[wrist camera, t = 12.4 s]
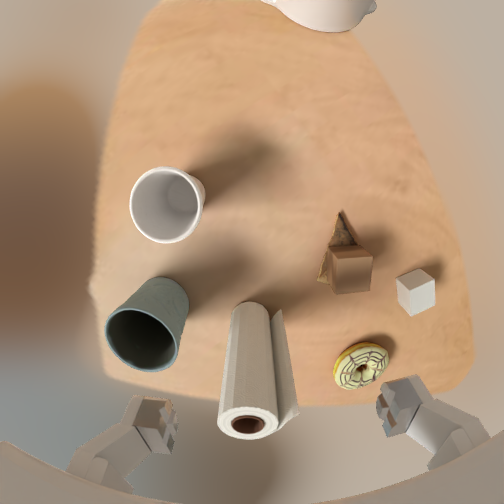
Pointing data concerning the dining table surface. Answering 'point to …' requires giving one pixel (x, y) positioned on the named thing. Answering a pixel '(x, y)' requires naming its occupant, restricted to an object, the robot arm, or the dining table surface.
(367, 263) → the walnut cube
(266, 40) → the dining table surface
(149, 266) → the dining table surface
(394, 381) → the robot arm
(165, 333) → the teal plant pot
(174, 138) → the dining table surface
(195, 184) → the dixie cup
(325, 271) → the shard
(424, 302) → the grey cube
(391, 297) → the dining table surface
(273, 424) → the paper towel roll
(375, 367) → the decorated donut
